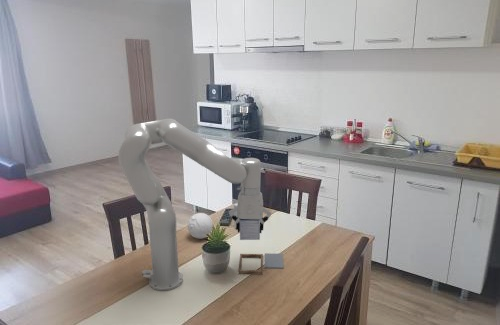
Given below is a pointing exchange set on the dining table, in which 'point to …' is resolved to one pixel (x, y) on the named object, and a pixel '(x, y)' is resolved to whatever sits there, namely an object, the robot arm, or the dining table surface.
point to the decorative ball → (200, 225)
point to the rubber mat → (274, 261)
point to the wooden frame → (250, 272)
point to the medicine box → (249, 229)
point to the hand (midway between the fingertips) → (249, 231)
